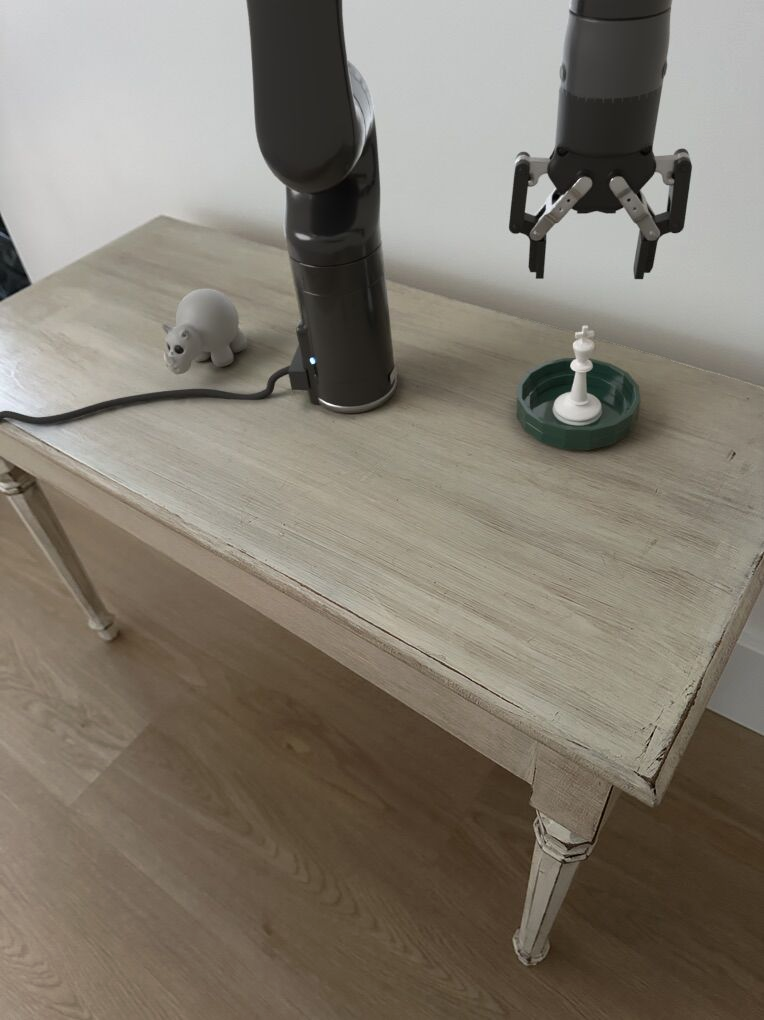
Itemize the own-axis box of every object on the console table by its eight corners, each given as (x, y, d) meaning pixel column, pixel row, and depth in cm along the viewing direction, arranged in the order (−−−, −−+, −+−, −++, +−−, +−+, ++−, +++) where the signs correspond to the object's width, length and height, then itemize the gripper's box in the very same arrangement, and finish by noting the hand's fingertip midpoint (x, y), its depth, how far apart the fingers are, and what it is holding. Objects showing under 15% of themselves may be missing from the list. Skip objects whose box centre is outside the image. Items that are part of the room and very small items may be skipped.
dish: (514, 451, 79) (515, 428, 77) (518, 380, 87) (519, 357, 85) (640, 455, 77) (644, 431, 75) (631, 381, 85) (635, 358, 83)
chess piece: (547, 399, 83) (553, 316, 76) (594, 393, 83) (603, 309, 76) (559, 428, 80) (566, 344, 73) (607, 422, 80) (619, 337, 73)
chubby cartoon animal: (151, 388, 93) (128, 325, 87) (211, 334, 100) (193, 272, 94) (200, 401, 90) (180, 337, 84) (258, 344, 97) (243, 282, 91)
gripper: (705, 57, 61) (667, 255, 72) (516, 64, 63) (509, 254, 74) (718, 91, 55) (675, 298, 67) (512, 96, 58) (505, 295, 69)
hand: (588, 274), depth 71 cm, fingers open, 8 cm apart
